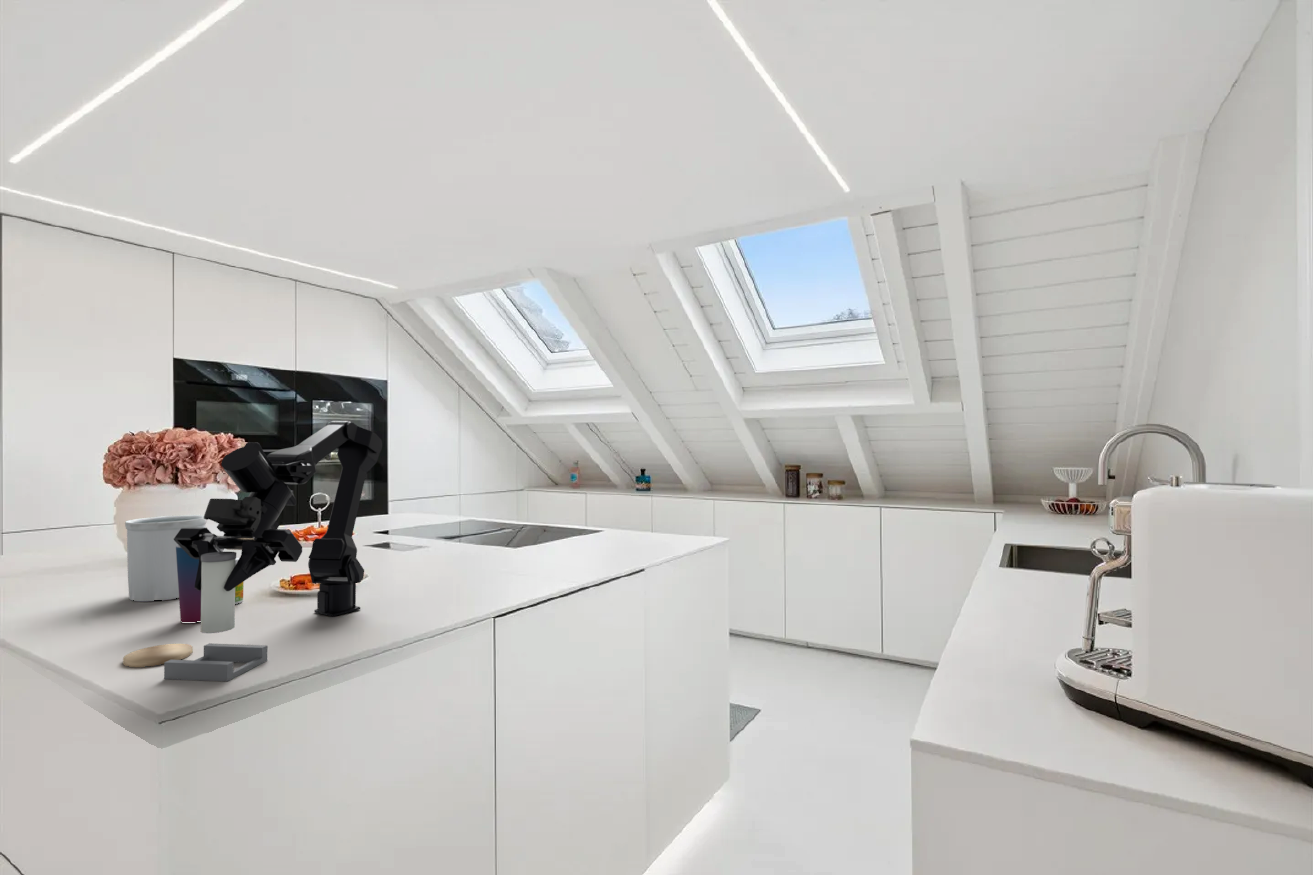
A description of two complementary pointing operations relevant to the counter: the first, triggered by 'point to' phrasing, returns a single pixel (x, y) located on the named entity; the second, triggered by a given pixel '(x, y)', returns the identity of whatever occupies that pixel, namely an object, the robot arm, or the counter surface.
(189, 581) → the cup
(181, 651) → the coaster
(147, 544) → the utensil holder
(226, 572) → the white jar with lid
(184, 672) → the socket frame
